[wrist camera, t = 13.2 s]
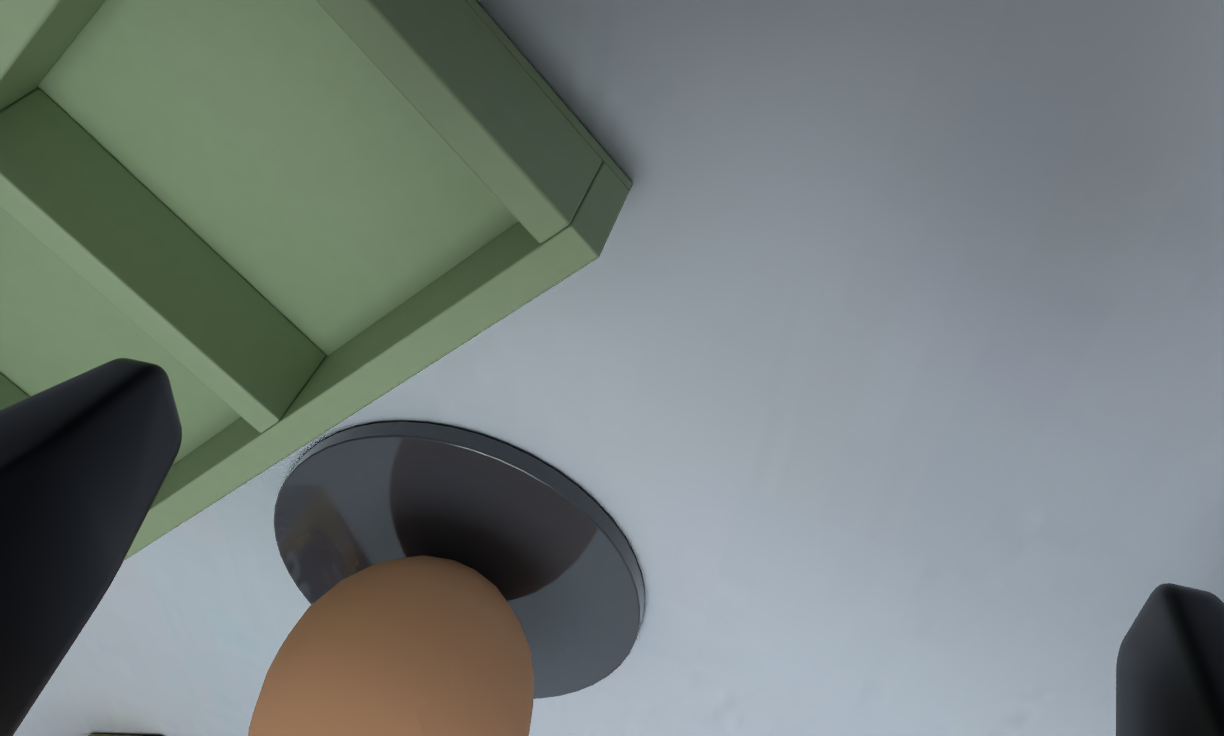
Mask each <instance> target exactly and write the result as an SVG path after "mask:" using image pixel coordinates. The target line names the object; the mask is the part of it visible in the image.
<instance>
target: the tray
mask: <svg viewBox="0 0 1224 736" xmlns="http://www.w3.org/2000/svg"><path fill="white" fill-rule="evenodd" d="M631 187H632V182H631V181H630V180H629V179H628V178H627V176H626V175H625V174H624V173H623V172H622V171H621V169H620V168H619V167H618V166H617V165H616V164H615V162H614V161H613V160H612V159H611V158H610V157H609V155H608V154H607V153H606V152H605V151H604V150H603V148H602V147H601V146H600V145H599V144H598V143H597V141H596V140H595V139H594V138H593V137H592V136H591V134H590V133H589V132H588V131H587V130H586V129H585V127H584V126H583V125H582V124H581V123H580V121H579V120H578V119H577V118H576V117H575V116H574V114H573V113H572V112H571V111H570V110H569V109H568V107H567V106H566V105H565V104H564V103H563V102H562V100H561V99H560V98H559V97H558V96H557V95H556V93H555V92H554V91H553V90H552V89H551V88H550V86H549V85H548V84H547V83H546V82H545V81H544V79H543V78H542V77H541V76H540V75H539V74H538V72H537V71H536V70H535V69H534V68H533V67H532V65H531V64H530V63H529V62H528V61H527V59H526V58H525V57H524V56H523V55H522V54H521V52H520V51H519V50H518V49H517V48H516V47H515V45H514V44H513V43H512V42H511V41H510V40H509V38H508V37H507V36H506V35H505V34H504V33H503V31H502V30H501V29H500V28H499V27H498V26H497V24H496V23H495V22H494V21H493V20H492V19H491V17H490V16H489V15H488V14H487V13H486V12H485V10H484V9H483V8H482V7H481V6H480V5H479V3H478V2H477V1H476V0H0V410H1V409H4V408H6V407H8V406H10V405H13V404H15V403H17V402H19V401H22V400H24V399H26V398H28V397H31V396H33V395H35V394H37V393H39V392H42V391H44V390H46V389H48V388H51V387H53V386H55V385H57V384H60V383H62V382H64V381H66V380H69V379H71V378H73V377H75V376H78V375H80V374H82V373H84V372H87V371H89V370H91V369H93V368H96V367H98V366H100V365H102V364H105V363H107V362H109V361H112V360H114V359H118V358H129V359H134V360H138V361H143V362H148V363H152V364H157V365H158V366H161V367H162V368H163V369H164V371H165V372H166V373H167V375H168V377H169V381H170V384H171V388H172V392H173V396H174V400H175V403H176V407H177V411H178V415H179V418H180V422H181V427H182V440H181V445H180V449H179V452H178V454H177V456H176V458H175V460H174V462H173V464H172V466H171V468H170V470H169V472H168V474H167V476H166V478H165V480H164V482H163V484H162V486H161V488H160V490H159V492H158V494H157V496H156V498H155V500H154V502H153V504H152V506H151V508H150V509H149V511H148V513H147V515H146V517H145V519H144V521H143V523H142V525H141V527H140V529H139V531H138V533H137V535H136V537H135V539H134V541H133V543H132V545H131V547H130V549H129V551H128V553H127V555H126V557H125V559H127V558H129V557H130V556H132V555H133V554H135V553H136V552H138V551H140V550H141V549H143V548H144V547H146V546H147V545H149V544H151V543H152V542H154V541H155V540H157V539H158V538H160V537H161V536H163V535H165V534H166V533H168V532H169V531H171V530H172V529H174V528H176V527H177V526H179V525H180V524H182V523H183V522H185V521H187V520H188V519H190V518H191V517H193V516H194V515H196V514H198V513H199V512H201V511H202V510H204V509H205V508H207V507H208V506H210V505H212V504H213V503H215V502H216V501H218V500H219V499H221V498H223V497H224V496H226V495H227V494H229V493H230V492H232V491H234V490H235V489H237V488H238V487H240V486H241V485H243V484H244V483H246V482H248V481H249V480H251V479H252V478H254V477H255V476H257V475H259V474H260V473H262V472H263V471H265V470H266V469H268V468H270V467H271V466H273V465H274V464H276V463H277V462H279V461H281V460H282V459H284V458H285V457H287V456H288V455H290V454H291V453H293V452H295V451H296V450H298V449H299V448H301V447H302V446H304V445H306V444H307V443H309V442H310V441H312V440H313V439H315V438H317V437H318V436H320V435H321V434H323V433H324V432H326V431H327V430H329V429H331V428H332V427H334V426H335V425H337V424H338V423H340V422H342V421H343V420H345V419H346V418H348V417H349V416H351V415H353V414H354V413H356V412H357V411H359V410H360V409H362V408H364V407H365V406H367V405H368V404H370V403H371V402H373V401H374V400H376V399H378V398H379V397H381V396H382V395H384V394H385V393H387V392H389V391H390V390H392V389H393V388H395V387H396V386H398V385H400V384H401V383H403V382H404V381H406V380H407V379H409V378H410V377H412V376H414V375H415V374H417V373H418V372H420V371H421V370H423V369H425V368H426V367H428V366H429V365H431V364H432V363H434V362H436V361H437V360H439V359H440V358H442V357H443V356H445V355H447V354H448V353H450V352H451V351H453V350H454V349H456V348H457V347H459V346H461V345H462V344H464V343H465V342H467V341H468V340H470V339H472V338H473V337H475V336H476V335H478V334H479V333H481V332H483V331H484V330H486V329H487V328H489V327H490V326H492V325H493V324H495V323H497V322H498V321H500V320H501V319H503V318H504V317H506V316H508V315H509V314H511V313H512V312H514V311H515V310H517V309H519V308H520V307H522V306H523V305H525V304H526V303H528V302H530V301H531V300H533V299H534V298H536V297H537V296H539V295H540V294H542V293H544V292H545V291H547V290H548V289H550V288H551V287H553V286H555V285H556V284H558V283H559V282H561V281H562V280H564V279H566V278H567V277H569V276H570V275H572V274H573V273H575V272H576V271H578V270H580V269H581V268H583V267H584V266H586V265H587V264H589V263H591V262H592V261H594V260H595V259H597V258H598V257H599V256H600V254H601V252H602V249H603V247H604V245H605V243H606V241H607V238H608V236H609V234H610V232H611V230H612V227H613V225H614V223H615V221H616V219H617V217H618V214H619V212H620V210H621V208H622V206H623V203H624V201H625V199H626V197H627V195H628V193H629V191H630V189H631ZM125 559H124V560H125Z"/></svg>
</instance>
